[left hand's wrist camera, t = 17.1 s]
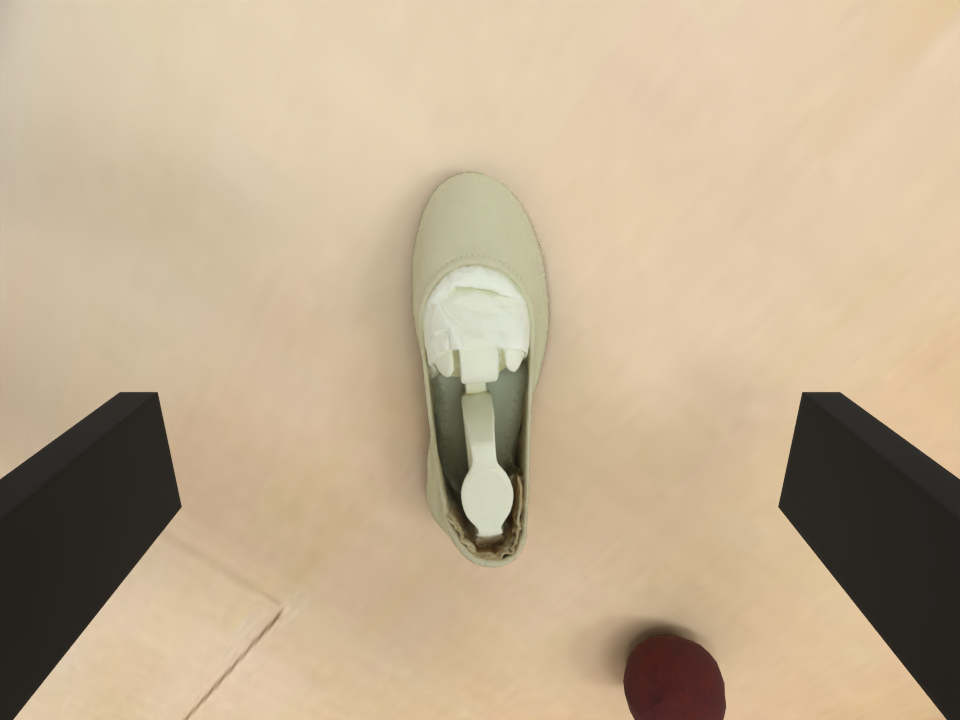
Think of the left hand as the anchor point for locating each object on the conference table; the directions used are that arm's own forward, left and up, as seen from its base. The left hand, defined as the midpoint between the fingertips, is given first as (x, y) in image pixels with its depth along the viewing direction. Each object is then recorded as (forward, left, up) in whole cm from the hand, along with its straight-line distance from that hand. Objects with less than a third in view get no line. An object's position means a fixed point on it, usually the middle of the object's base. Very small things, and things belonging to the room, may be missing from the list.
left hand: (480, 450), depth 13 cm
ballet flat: (+8, -2, -26) cm, 27 cm away
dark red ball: (+36, +6, -26) cm, 45 cm away
